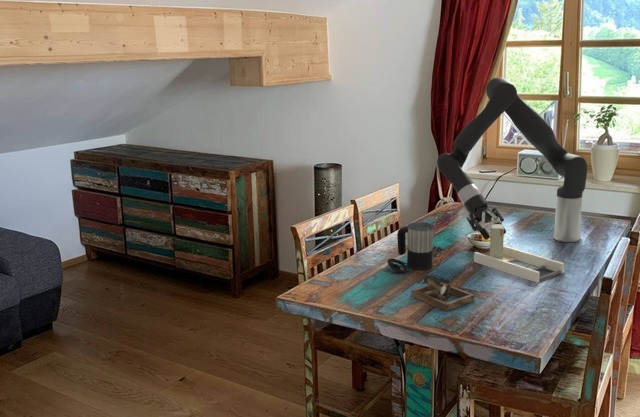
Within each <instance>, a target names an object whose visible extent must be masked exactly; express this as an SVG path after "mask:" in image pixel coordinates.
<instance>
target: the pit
mask: <svg viewBox="0 0 640 417" xmlns="http://www.w3.org/2000/svg"><path fill="white" fill-rule="evenodd" d="M532 270H535V271H538V272H540V275H539V282H538V283H540V282H543V281H546V280H548V279H551V278H554V277H557V276H559V275H562V274H561V271H560V270H558V271H552V270H549V269H545V266H544V265H543V266H540V267H538V266H536V268H535V267H534V268H532Z"/></svg>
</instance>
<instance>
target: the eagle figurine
mask: <svg viewBox="0 0 640 417" xmlns="http://www.w3.org/2000/svg"><path fill="white" fill-rule="evenodd" d="M423 280H424V282H425V284H426V285H429V286H430V287H433V288H435V290H432V291H427V292H425V293H424V294H426V295H429V296H431V297H433V298H436V297H437V296H439V295H441V296H444V297H445V298H446V300H449V294H450V293H449V291H450V289H451V286H452V287H453V281H451V283H450V284H449V283H447V285H448V286H447V289H446V286H445V285H444V286H443V287H441V283H440V282H441V281H440V280H437V279H436V278H434V276H433V275H431V274H428V275H425V276H424V278H423ZM446 290H447V292H446Z"/></svg>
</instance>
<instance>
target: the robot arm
mask: <svg viewBox="0 0 640 417" xmlns="http://www.w3.org/2000/svg"><path fill="white" fill-rule="evenodd" d="M485 93H486V96H487V98H488V99H489V100H488V102H487V104H486V105H485V106H484V108H483V109H482V111H481V112H480V113H479V114H478V115H477V116H476V117H474V118H473V119H472V120H470V121H469V122H468V123H467V124H466V125H465V126H464V127H463V128H462V129H461V131H460V132H459V134H458V135H457V136H456V138H455V139H454V141H453V143H452V144H453V149H452V151H451V152H449V153H448V152H444V153H442V154H440V155H438V158H437V161H436V164H437V168H438V171H440V173H441V174H442V175H443V176H444V177H445V179H446V180H447V181H448V182H449V183H450V184H451V185H452V188H453V189H454V190H455V192H456V194H457V195H458V198H459V200H460V201H461V203H462V205H463V206H464V208H465V210H466V211H467V212H468V214H469V215H467V216H466V221H468V224H469V225H470V227H471V229H472V230H473V231H474V232H479V233H480V234H481V236H482V237H483V239H484V240H485V241H487V240H489V239H490V234H489V232H488V231H487V229H486V228H485V224H488V223H489V224H490V225H491V224H503V222H504V221H505V218H504V217H503V216H502V214H501V213H500V211H499V210H498V209H497V207H493V208H492V209H490V208H489V205H488V201H487V200H486V198H485V197H484V196H483V193H482V192H481V191H480V189H479V188H478V186H476V184H475V183H474V181H473V180H472V178H471V176H470V175H469V174H468V173H467V172H465V171H463V169H462V168H463V167H464V164H465V163H466V161H467V159H468V157H469V154H470V152H471V151H472V150H473V149H474V147H475V146H476V144H477V143H478V142H479V141H480V139H481V138H482V136H483V135H484V134H485V133H486V131H487V130H488V129H489V128H490V127H491V126H492V125H493V123H495V122H496V121H497V119H498V118H500V116H501V115H503V113H505V114H506V115H507V117H508V118H510V120H511V121H512V123H513V125H514V126H515V127H516V128H517V130H518V131H519V132H520V133H521V134H522V136H523V137H524V138H525V139H526V140H527V141H528V142H529V143H530V144H531V145H532V146H533V147H534V148H535V149H536V150H537V151H538V152H539V153H540V154H541V155H542V156H543V157H544V158H545V159H546V160H547V162H548V163H549V165H550V166H551V167H552V169H553V170H554V171H555V173H556V174H558V176H560V177H563V178H564V179H563V185H562V186H559V187H558V188H557V189H556V202H555V217H554V218H555V219H554V234H553V235H554V236H553V238H554V240H556V241H557V242H558V241H559V242H563V243H576V242H578V241H580V239H581V236H582V235H581V234H582V220H583V216H582V207H583V206H582V203H583V193H584V191H585V188H586V185H587V177H588V176H587V175H588V164H587V161H586V159H585V158H584V157H582V156H580V155H577V154H573V153H570V152H569V151H568V150H566V149H565V148H564V146H562V145H561V144H560V143H559V142H558V140H557V139H556V135H555V132H554V129H553V128H552V126H551V125H550V124H549V123H548V122H547V120H546V119H544V118H543V116H541V115H540V114H539V113H538V112H537V111H536V110H535V109H534V108H532V107H531V106H530V105H529V104H527V103H526V102H525V101H524V100H523V99H522V98H521V97H520V95H518V89H517V87H516V86H515V85H514V83H512V82H511V81H509V80H508V79H507V78H505V77H500V76H499V77H498V76H497V77H494V78H491V79H490V80H489V81H488V83H487V84H486V89H485ZM506 233H507V230H506V229H505V227H504V235H505V234H506Z"/></svg>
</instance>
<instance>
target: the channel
mask: <svg viewBox="0 0 640 417" xmlns="http://www.w3.org/2000/svg"><path fill="white" fill-rule="evenodd" d="M503 255H504V256H507V257H511V258H514V259H515V260H516V261H520V262H522V263H525V264H529V265H532V266H536V267H540V266H543V265H544V266H545V269H549V270H552V271H558V270H560V271H561V274H560V275H562V274H564V272H565V270H564V269H565V263H564V262H561V261H557V260H555V259H552V258H548V257H544V256H542V255H538V254H533V253H531V252H527V251H523V250H520V249H517V248H513V247H510V246H506V245H504V244H503ZM515 260H514V261H515ZM473 262H474V263H475V264H476V263H477V264H480V265H482V266H485V267H489V268H491V269H494V270H497V271H500V272H504V273H507V274H509V275H513V276H515V277H519V278H522V279H525V280H528V281H531V282H534V283H540V282H539V275H540V272H538V271H535V270H532V269H533V268H532V269H531V268H528V267H526V266H522V265H519V264H516V263H512V262H511V261H510V262H507V261H503V260H500V259H497V258H494V257H491V256H490V255H487V254H484V253H481V252H479V251H475V252H473Z"/></svg>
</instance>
